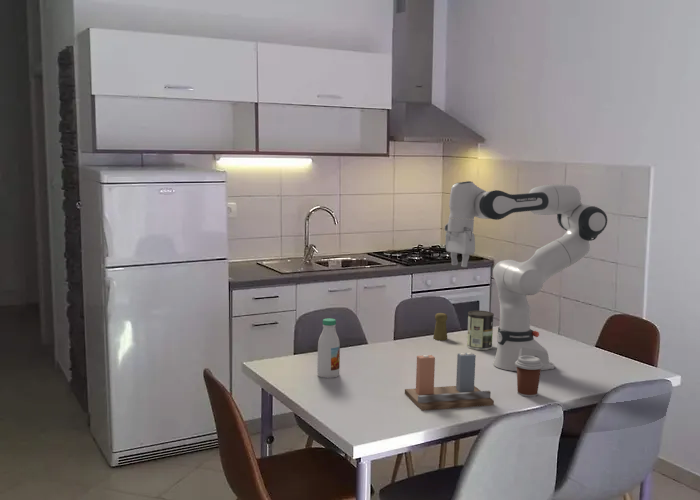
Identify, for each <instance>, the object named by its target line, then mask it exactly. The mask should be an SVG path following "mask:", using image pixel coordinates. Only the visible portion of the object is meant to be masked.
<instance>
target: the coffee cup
mask: <svg viewBox="0 0 700 500" xmlns="http://www.w3.org/2000/svg"><path fill="white" fill-rule="evenodd" d="M515 366H517V371H516V385H517V388H516V389H517V394H518V395H519V396H522V397H525V398H526V397H527V398H533V397H537V396H538V394H539V384H540V380H541V379H540V378H541V371H542V370H541V369H542V368H543V364H542V363H541V362H540V359H539V358H538V357H534V356H520V357H519V358H518V360H517V361H516V362H515Z"/></svg>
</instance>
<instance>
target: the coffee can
mask: <svg viewBox="0 0 700 500" xmlns="http://www.w3.org/2000/svg"><path fill="white" fill-rule="evenodd" d="M467 315H468V317H467V336H466V338H467V341H466V343H467V344H466V347H467V348H468V349H471V350H477V351H488V350H491V349H493V333H494V332H493V331H494V313H493V312H491V311H487V310H470V311H468V312H467Z"/></svg>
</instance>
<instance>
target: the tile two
mask: <svg viewBox="0 0 700 500" xmlns="http://www.w3.org/2000/svg"><path fill="white" fill-rule="evenodd" d="M456 355H457V358H456V359H457V361H456V363H457V364H456V382H455V383H456V384H455V386H456V389H457V390H458V391H459V392H468V391H474V386H475V378H476V377H475V376H476V355H475V354H474V353H473V352H462V353H457V354H456Z"/></svg>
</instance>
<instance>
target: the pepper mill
mask: <svg viewBox="0 0 700 500" xmlns="http://www.w3.org/2000/svg"><path fill="white" fill-rule="evenodd" d="M434 320H435V325H434V332H433V338H432V339H433V340H434V339H435V341H439V340H440V342H441V341H442V342H443V341H447V340H448V332H447V331H448V329H447V320H448V315H447V313H443V312H437V313H435V316H434Z"/></svg>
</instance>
